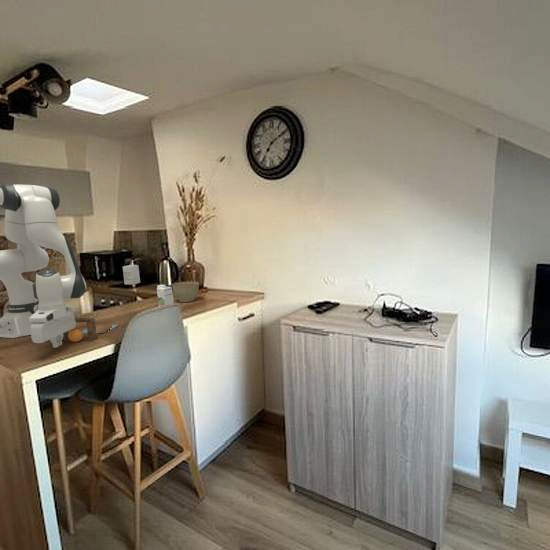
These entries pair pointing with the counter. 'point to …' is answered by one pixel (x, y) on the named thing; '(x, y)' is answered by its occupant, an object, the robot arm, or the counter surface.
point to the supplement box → (131, 274)
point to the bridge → (90, 328)
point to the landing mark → (108, 330)
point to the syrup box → (164, 296)
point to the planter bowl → (185, 291)
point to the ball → (75, 335)
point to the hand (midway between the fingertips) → (57, 346)
